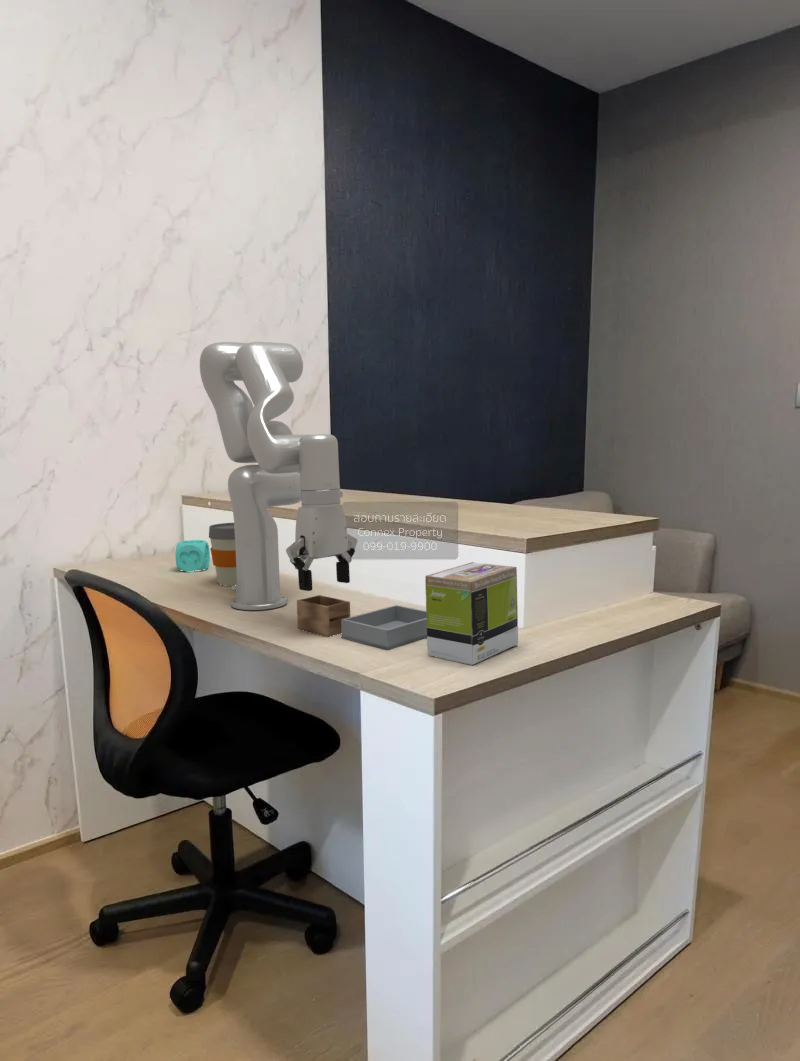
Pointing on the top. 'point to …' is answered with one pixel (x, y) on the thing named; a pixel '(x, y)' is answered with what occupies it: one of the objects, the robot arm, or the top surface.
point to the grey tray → (386, 627)
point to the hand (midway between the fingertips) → (325, 586)
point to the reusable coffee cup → (224, 552)
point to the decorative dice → (192, 555)
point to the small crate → (322, 615)
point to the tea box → (471, 612)
